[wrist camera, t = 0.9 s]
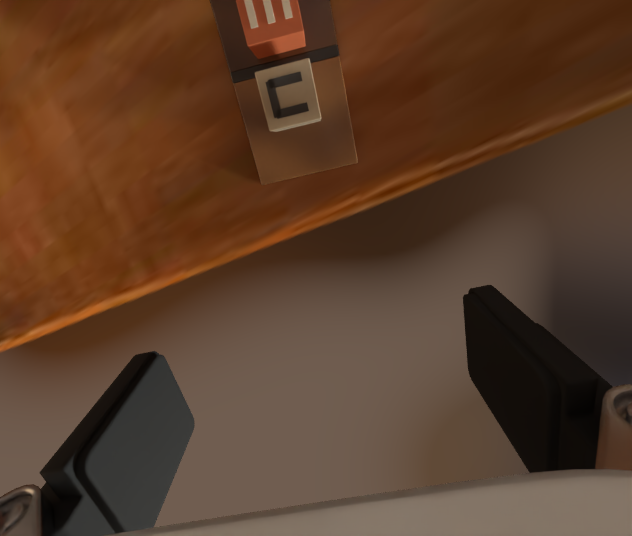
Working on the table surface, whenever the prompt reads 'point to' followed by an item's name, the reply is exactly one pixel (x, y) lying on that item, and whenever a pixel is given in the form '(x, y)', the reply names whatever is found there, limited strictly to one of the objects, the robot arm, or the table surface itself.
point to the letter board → (335, 126)
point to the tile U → (288, 95)
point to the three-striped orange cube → (271, 26)
